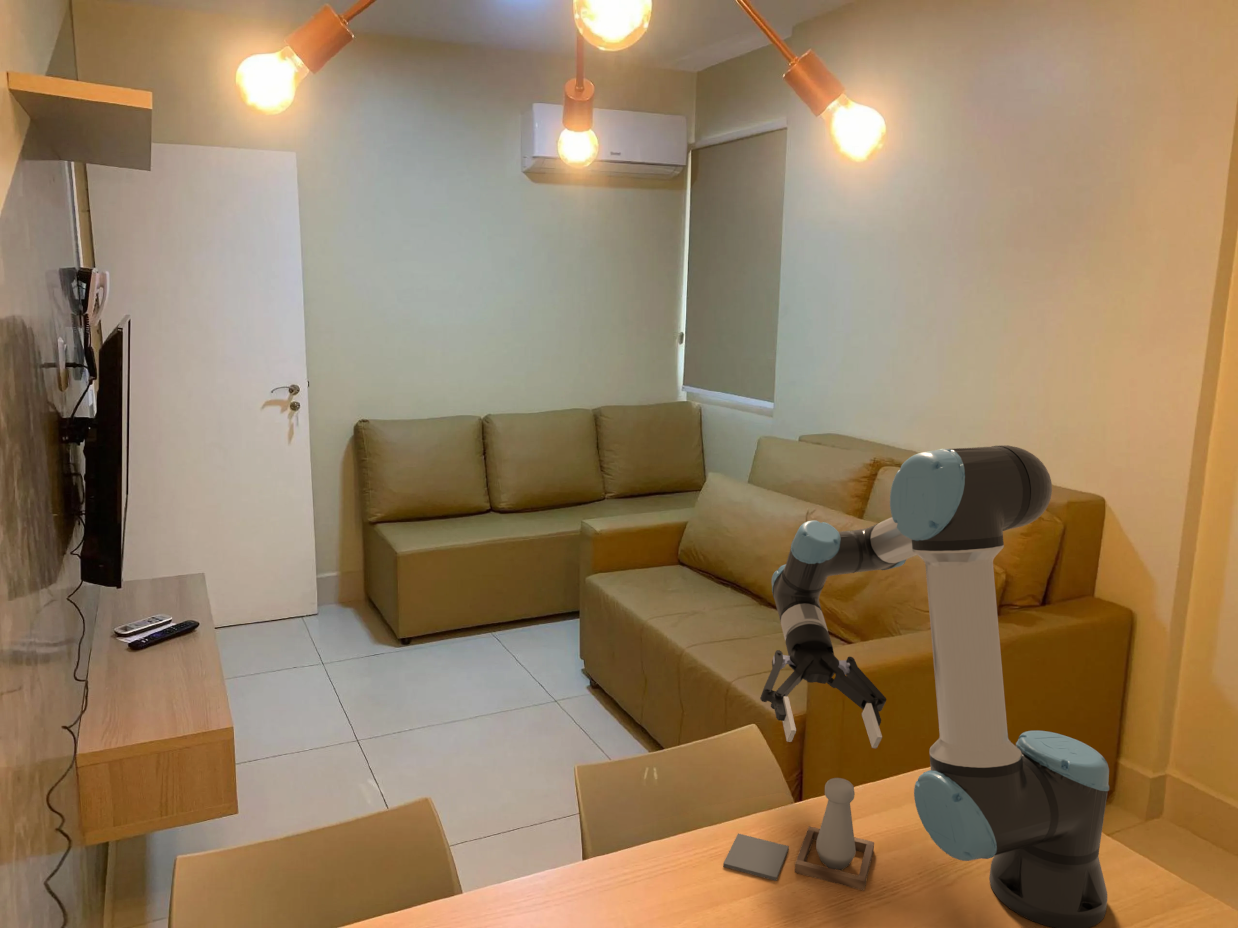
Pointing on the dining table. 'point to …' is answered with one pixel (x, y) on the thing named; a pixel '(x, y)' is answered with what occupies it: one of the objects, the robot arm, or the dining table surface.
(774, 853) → the charcoal coaster
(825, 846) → the salt shaker
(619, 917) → the dining table surface
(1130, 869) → the dining table surface
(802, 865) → the walnut collar
